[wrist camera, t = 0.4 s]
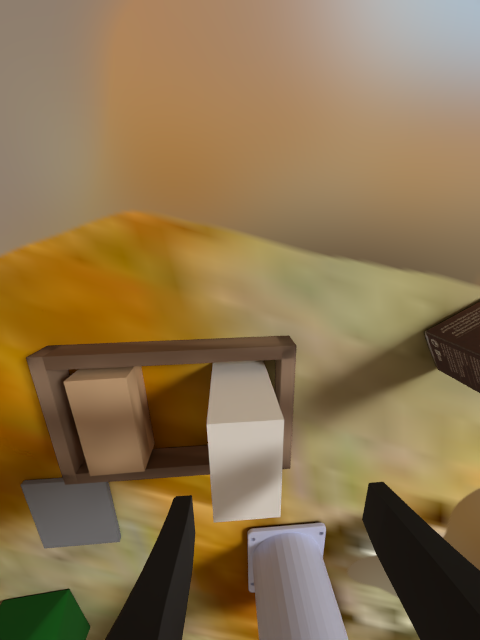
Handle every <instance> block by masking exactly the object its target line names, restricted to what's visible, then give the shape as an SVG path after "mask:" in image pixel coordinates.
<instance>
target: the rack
mask: <svg viewBox="0 0 480 640" xmlns="http://www.w3.org/2000/svg"><path fill="white" fill-rule="evenodd" d="M26 359H27V362H28V365H29V369H30V372H31V375H32V379H33V382H34V385H35V388H36V392H37V395H38V398H39V401H40V405H41V408H42V411H43V415H44V418H45V421H46V424H47V428H48V431H49V434H50V437H51V441H52V444H53V447H54V451H55V454H56V457H57V460H58V464H59V467H60V470H61V474H62V477H63V480H64V483H65V485H70V484H84V483H98V482H112V481H125V480H139V479H153V478H166V477H180V476H194V475H208V474H210V463H209V449H208V445H204V446H189V447H174V448H159V449H152V452H151V455H150V458H149V460H148V463H147V466H146V469H145V471H143V472H132V473H120V474H109V475H97V476H90V473H89V470H88V466H87V463H86V459H85V456H84V452H83V449H82V445H81V442H80V438H79V435H78V431H77V428H76V424H75V421H74V417H73V414H72V410H71V407H70V403H69V400H68V396H67V393H66V389H65V386H64V381H65V380H66V379H67V378H69V377H70V375H69V371H68V369H89V368H110V367H131V366H152V365H173V364H195V363H216V362H237V361H258V360H276V367H275V395H276V398H277V401H278V404H279V406H280V409H281V412H282V415H283V418H284V436H283V462H282V469H290V461H291V442H292V422H293V403H294V383H295V364H296V344H295V343H294V342H293V340H292V339H291V338H290V336H269V337H245V338H221V339H197V340H173V341H149V342H125V343H101V344H78V345H54V346H46V347H45V348H43V349H41V350H39V351H37V352H35V353H34V354H32V355H30V356H28V357H26Z"/></svg>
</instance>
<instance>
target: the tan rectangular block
mask: <svg viewBox="0 0 480 640" xmlns="http://www.w3.org/2000/svg"><path fill="white" fill-rule="evenodd" d="M64 386H65V389H66V393H67V396H68V400H69V403H70V407H71V410H72V414H73V417H74V421H75V424H76V428H77V431H78V435H79V438H80V442H81V445H82V449H83V452H84V456H85V459H86V463H87V466H88V470H89V473H90V476H97V475H109V474H120V473H132V472H143V471H145V469H146V466H147V463H148V460H149V458H150V455H151V452H152V449H153V447H154V444H155V442H154V437H153V431H152V425H151V420H150V414H149V408H148V403H147V397H146V391H145V386H144V380H143V374H142V369H141V366H131V367H110V368H89V369H78V370H77V371H76V372H75V373H73V374H72V375H71V376H70V377H69V378H67V379H66V380H65V381H64Z"/></svg>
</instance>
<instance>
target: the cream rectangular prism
mask: <svg viewBox="0 0 480 640" xmlns="http://www.w3.org/2000/svg"><path fill="white" fill-rule="evenodd" d="M207 436H208V449H209V463H210V477H211V491H212V504H213V518H214V522H225V521H237V520H249V519H261V518H272V517H280V513H281V488H282V462H283V436H284V418H283V415H282V412H281V409H280V406H279V404H278V401H277V398H276V395H275V392H274V389H273V387H272V384H271V381H270V378H269V375H268V372H267V369H266V367H265V364H264V361H263V360H258V361H237V362H216V363H213V366H212V376H211V386H210V396H209V406H208V416H207Z"/></svg>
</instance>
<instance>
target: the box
mask: <svg viewBox="0 0 480 640" xmlns="http://www.w3.org/2000/svg"><path fill="white" fill-rule="evenodd" d="M425 339H426V340H427V343H428V346H429V349H430V351H431V353H432V356H433V358H434V361H435V364H436V366H437V368H438V370H440V371H442V372H443V373H445V374H447V375H449V376H450V377H452V378H454V379H456V380H458V381H459V382H461V383H463V384H465V385H467V386H468V387H470V388H472V389H473V390H475V391H477V392H479V393H480V302H478V303H477V304H475V305H473V306H471V307H469V308H467V309H465V310H464V311H462V312H460V313H458V314H456V315H454V316H453V317H451V318H449V319H447V320H445V321H443V322H442V323H440V324H438V325H436V326H434V327H432V328H430V329H429V330H427V331H425Z"/></svg>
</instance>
